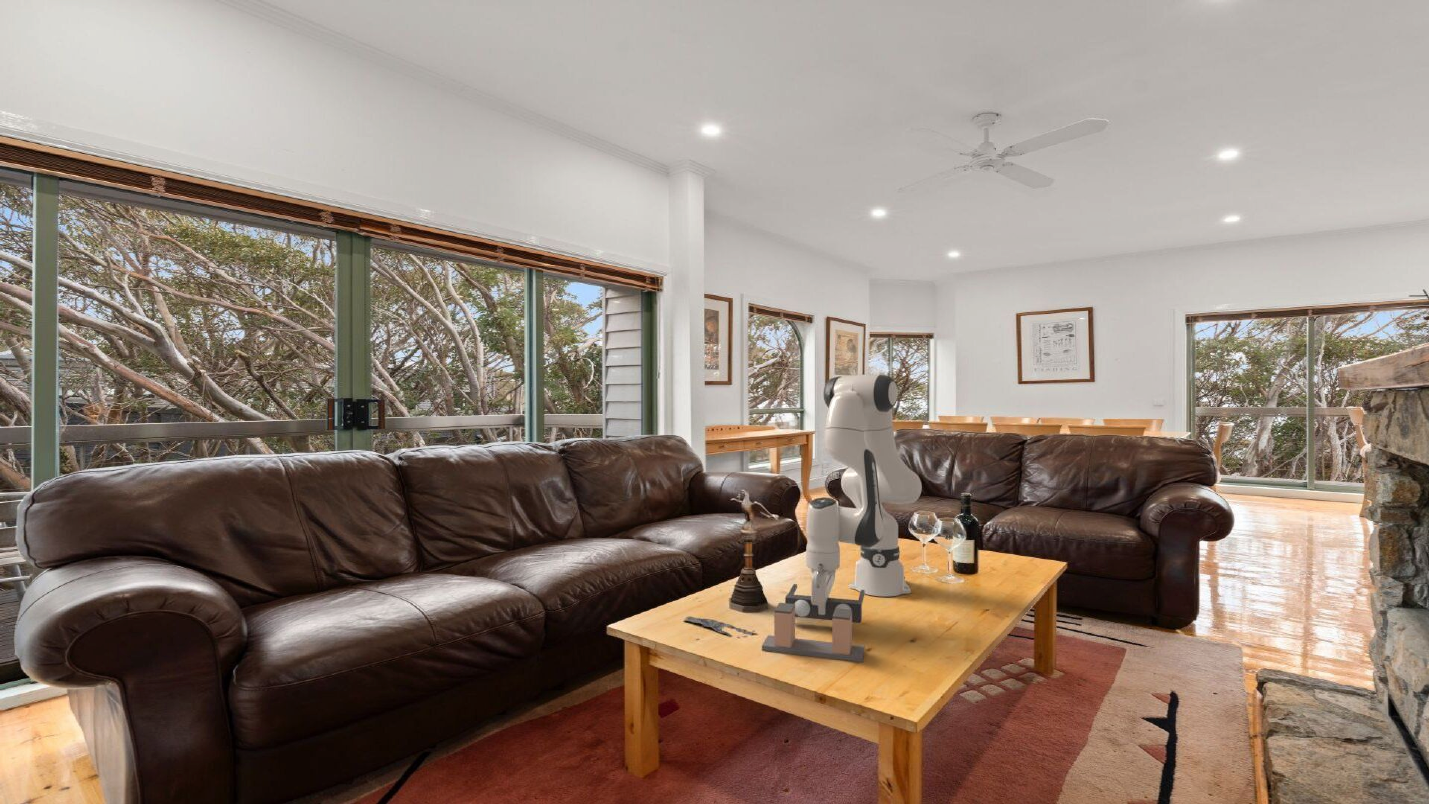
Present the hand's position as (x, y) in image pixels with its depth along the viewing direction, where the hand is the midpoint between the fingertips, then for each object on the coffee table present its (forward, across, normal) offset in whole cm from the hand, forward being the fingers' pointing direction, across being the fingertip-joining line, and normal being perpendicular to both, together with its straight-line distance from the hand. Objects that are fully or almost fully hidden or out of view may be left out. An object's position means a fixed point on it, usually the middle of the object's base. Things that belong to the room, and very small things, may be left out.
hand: (823, 611), depth 175 cm
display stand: (+4, -17, 0) cm, 17 cm away
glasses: (+2, +5, 0) cm, 5 cm away
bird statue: (+5, +14, +23) cm, 27 cm away
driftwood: (+5, -9, +27) cm, 29 cm away
